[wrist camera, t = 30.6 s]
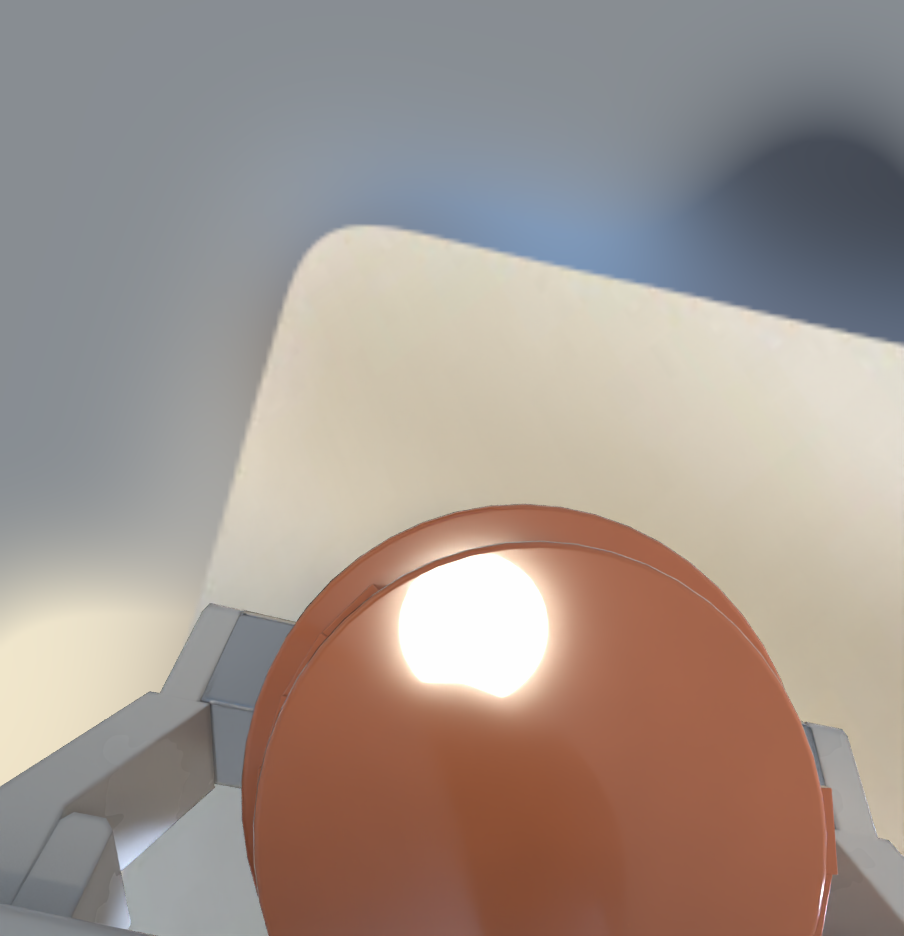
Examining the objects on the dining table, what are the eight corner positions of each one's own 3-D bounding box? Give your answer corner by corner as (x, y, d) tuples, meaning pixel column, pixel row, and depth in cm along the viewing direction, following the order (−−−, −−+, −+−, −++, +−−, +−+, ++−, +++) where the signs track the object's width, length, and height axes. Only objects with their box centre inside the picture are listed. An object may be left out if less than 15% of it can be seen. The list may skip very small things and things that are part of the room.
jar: (340, 834, 17) (170, 1211, 7) (350, 542, 18) (213, 478, 8) (631, 839, 17) (909, 1224, 7) (627, 547, 18) (870, 492, 8)
